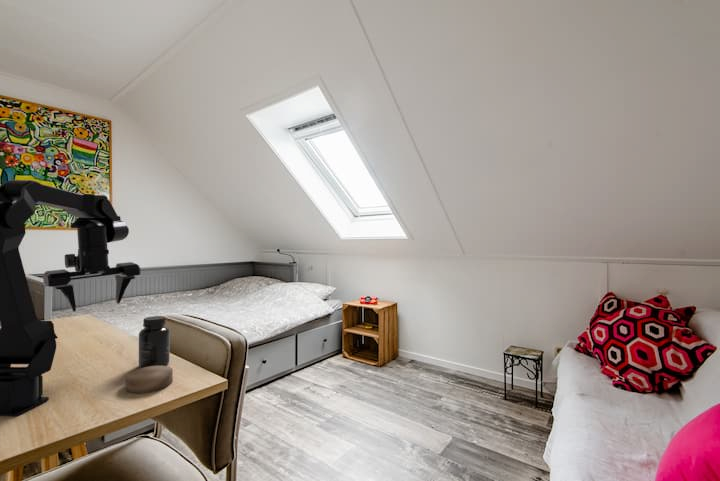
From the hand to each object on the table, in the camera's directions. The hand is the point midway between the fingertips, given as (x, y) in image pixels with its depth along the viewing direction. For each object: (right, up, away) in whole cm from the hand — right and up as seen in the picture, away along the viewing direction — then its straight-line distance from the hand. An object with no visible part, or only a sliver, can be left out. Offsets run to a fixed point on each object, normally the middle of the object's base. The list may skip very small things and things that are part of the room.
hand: (96, 307), depth 90 cm
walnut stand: (+19, -15, -11) cm, 27 cm away
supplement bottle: (+14, -15, +1) cm, 20 cm away
